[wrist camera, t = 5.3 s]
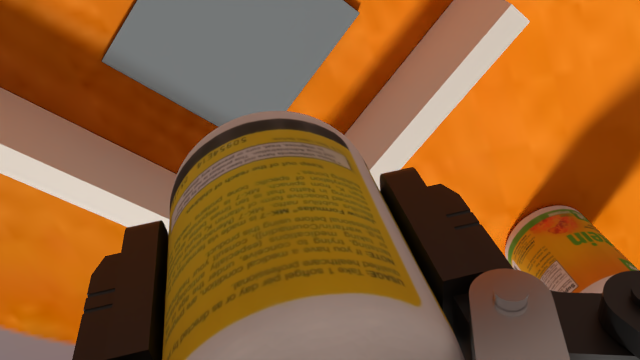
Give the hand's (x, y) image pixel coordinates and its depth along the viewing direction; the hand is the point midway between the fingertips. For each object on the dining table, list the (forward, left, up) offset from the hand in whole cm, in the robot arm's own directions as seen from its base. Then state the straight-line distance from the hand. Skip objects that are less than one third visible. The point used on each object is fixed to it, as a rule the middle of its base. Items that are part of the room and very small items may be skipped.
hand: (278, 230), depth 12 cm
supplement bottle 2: (-23, 0, -15) cm, 27 cm away
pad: (0, 0, -14) cm, 14 cm away
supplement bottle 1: (0, 0, -2) cm, 2 cm away
